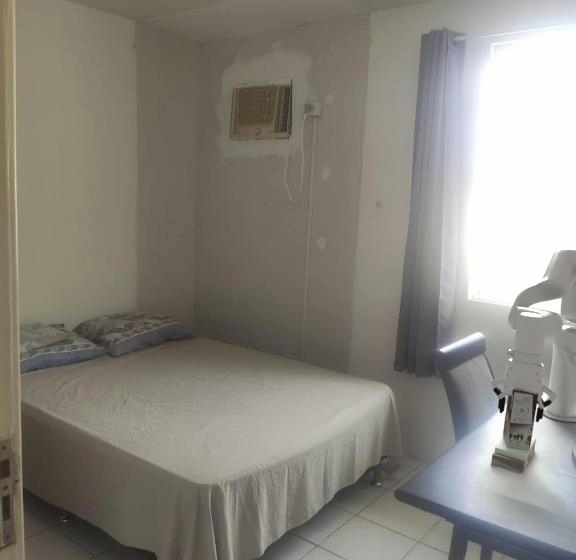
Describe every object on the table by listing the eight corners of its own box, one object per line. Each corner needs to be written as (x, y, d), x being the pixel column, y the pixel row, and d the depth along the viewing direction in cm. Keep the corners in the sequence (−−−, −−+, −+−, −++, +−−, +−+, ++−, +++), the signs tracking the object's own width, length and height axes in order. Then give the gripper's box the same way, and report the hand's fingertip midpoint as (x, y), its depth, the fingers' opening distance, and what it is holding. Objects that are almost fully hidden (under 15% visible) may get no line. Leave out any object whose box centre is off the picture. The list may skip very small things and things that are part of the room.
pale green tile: (507, 434, 169) (507, 429, 169) (535, 442, 165) (536, 437, 165) (494, 452, 156) (495, 447, 155) (525, 461, 151) (525, 456, 151)
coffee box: (530, 451, 155) (539, 395, 152) (506, 447, 156) (513, 391, 154) (525, 437, 163) (533, 384, 161) (502, 433, 165) (509, 381, 162)
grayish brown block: (505, 443, 169) (506, 433, 169) (534, 451, 165) (535, 441, 164) (490, 465, 154) (492, 454, 153) (521, 474, 150) (523, 463, 149)
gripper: (491, 353, 157) (484, 412, 160) (559, 367, 148) (550, 428, 151) (498, 348, 164) (491, 404, 166) (563, 361, 154) (554, 420, 157)
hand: (519, 416), depth 158 cm, fingers open, 9 cm apart
